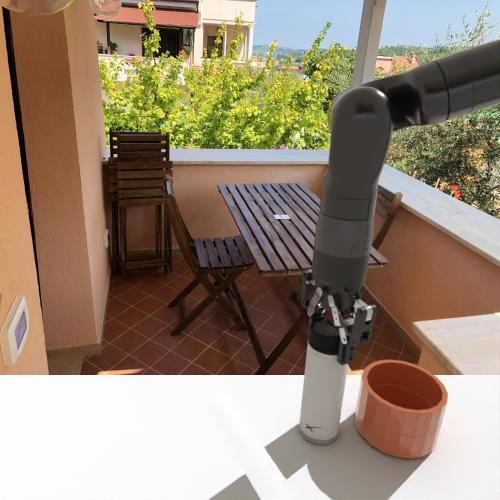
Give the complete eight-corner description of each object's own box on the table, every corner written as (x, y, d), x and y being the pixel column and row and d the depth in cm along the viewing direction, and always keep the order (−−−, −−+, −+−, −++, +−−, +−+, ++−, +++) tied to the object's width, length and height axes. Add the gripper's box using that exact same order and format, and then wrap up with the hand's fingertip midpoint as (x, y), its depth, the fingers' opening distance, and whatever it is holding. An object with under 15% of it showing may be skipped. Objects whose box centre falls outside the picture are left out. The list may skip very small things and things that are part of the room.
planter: (394, 393, 79) (402, 352, 75) (453, 443, 68) (466, 397, 65) (339, 414, 73) (345, 371, 70) (394, 472, 62) (405, 424, 59)
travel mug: (308, 450, 65) (321, 339, 58) (293, 420, 71) (303, 315, 64) (345, 443, 67) (362, 334, 60) (327, 414, 73) (341, 311, 66)
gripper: (402, 260, 53) (382, 370, 59) (331, 226, 65) (320, 321, 71) (356, 269, 50) (339, 385, 56) (289, 231, 62) (282, 331, 68)
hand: (328, 349), depth 64 cm, fingers closed on travel mug, 6 cm apart
